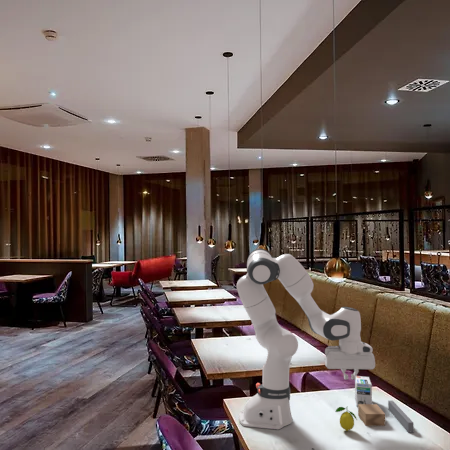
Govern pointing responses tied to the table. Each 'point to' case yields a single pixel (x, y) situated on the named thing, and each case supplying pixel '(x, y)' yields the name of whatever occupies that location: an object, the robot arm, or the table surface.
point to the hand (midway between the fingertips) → (349, 379)
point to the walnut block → (371, 415)
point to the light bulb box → (363, 390)
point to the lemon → (346, 419)
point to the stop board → (400, 416)
